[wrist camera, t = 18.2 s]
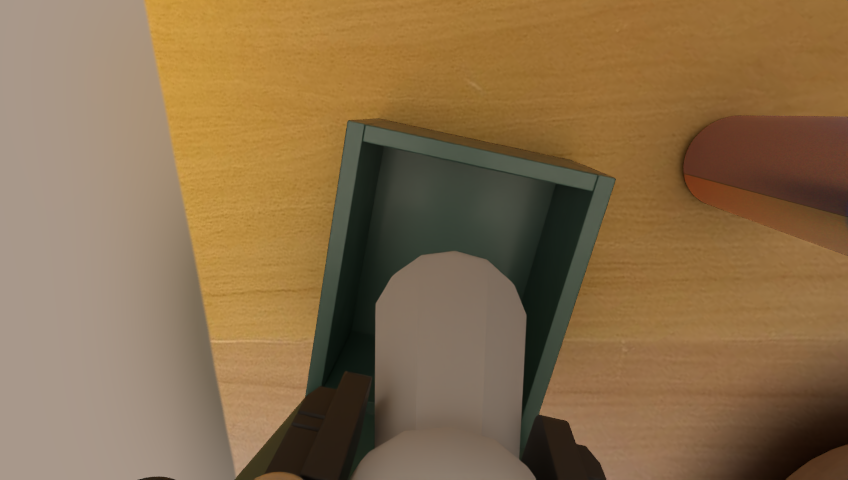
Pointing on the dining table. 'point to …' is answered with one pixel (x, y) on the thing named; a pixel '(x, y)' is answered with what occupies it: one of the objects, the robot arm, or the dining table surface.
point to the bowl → (825, 466)
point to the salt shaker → (448, 374)
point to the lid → (269, 449)
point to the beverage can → (776, 173)
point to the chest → (453, 238)
